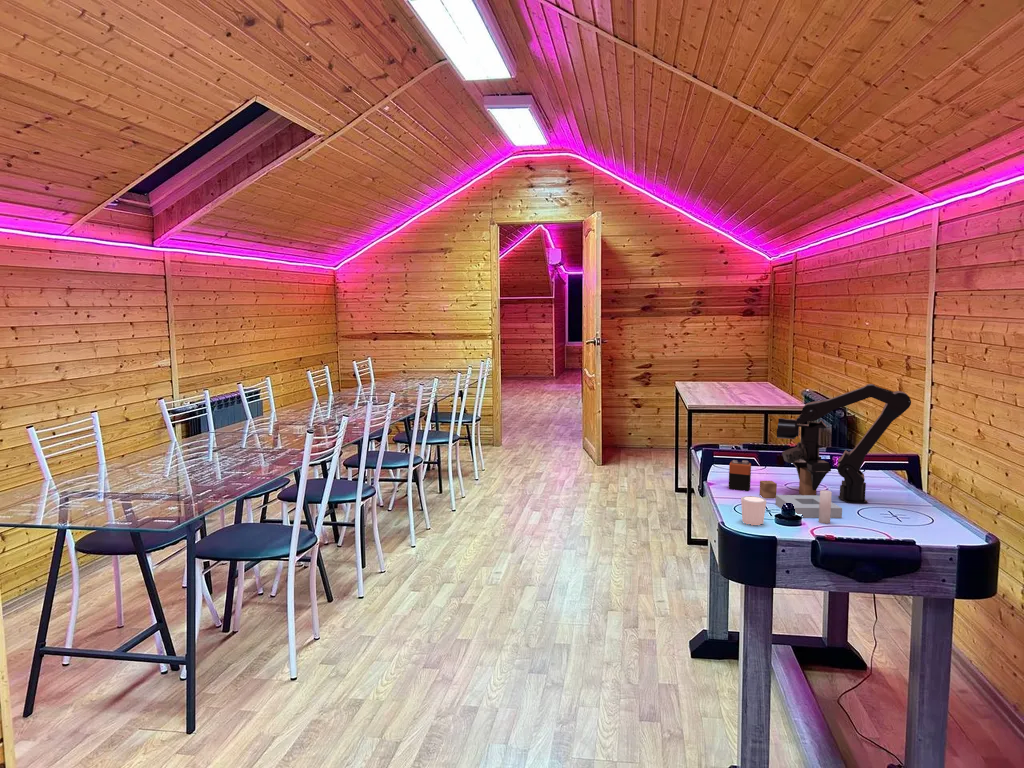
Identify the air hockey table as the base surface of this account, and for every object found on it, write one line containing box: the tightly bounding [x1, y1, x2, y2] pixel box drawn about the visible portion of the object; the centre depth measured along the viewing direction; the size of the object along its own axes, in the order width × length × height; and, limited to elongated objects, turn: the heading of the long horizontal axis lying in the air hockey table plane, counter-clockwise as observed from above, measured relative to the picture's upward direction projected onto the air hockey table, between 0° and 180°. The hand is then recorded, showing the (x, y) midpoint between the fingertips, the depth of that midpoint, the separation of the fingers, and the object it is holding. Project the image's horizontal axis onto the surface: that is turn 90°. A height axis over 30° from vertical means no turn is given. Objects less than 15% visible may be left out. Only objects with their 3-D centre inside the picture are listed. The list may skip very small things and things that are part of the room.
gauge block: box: [775, 489, 843, 525], centre depth 193 cm, size 14×20×9 cm
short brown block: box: [759, 480, 778, 499], centre depth 212 cm, size 4×4×5 cm
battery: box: [728, 459, 752, 492], centre depth 221 cm, size 4×7×10 cm, turn 64°
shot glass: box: [740, 495, 767, 526], centre depth 184 cm, size 7×7×7 cm
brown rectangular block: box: [798, 468, 818, 495], centre depth 213 cm, size 4×4×9 cm
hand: (807, 486), depth 213 cm, fingers open, 9 cm apart
